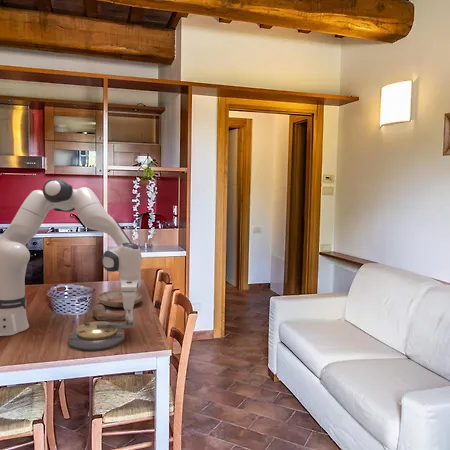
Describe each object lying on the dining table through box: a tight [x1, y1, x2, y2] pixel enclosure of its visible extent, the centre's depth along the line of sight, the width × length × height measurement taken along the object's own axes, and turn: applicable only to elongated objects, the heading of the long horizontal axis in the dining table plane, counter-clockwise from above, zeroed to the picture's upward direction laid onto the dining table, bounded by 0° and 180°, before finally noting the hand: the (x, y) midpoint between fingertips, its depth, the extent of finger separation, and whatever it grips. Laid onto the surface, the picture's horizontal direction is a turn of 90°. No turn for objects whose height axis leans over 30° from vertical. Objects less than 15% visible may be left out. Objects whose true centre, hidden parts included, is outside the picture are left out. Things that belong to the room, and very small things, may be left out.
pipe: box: [91, 303, 126, 322], centre depth 208 cm, size 6×17×10 cm
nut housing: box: [68, 328, 125, 352], centre depth 179 cm, size 22×22×3 cm
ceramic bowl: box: [97, 289, 143, 308], centre depth 233 cm, size 23×24×5 cm
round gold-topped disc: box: [75, 309, 135, 341], centre depth 179 cm, size 23×16×10 cm
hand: (129, 313), depth 183 cm, fingers closed
